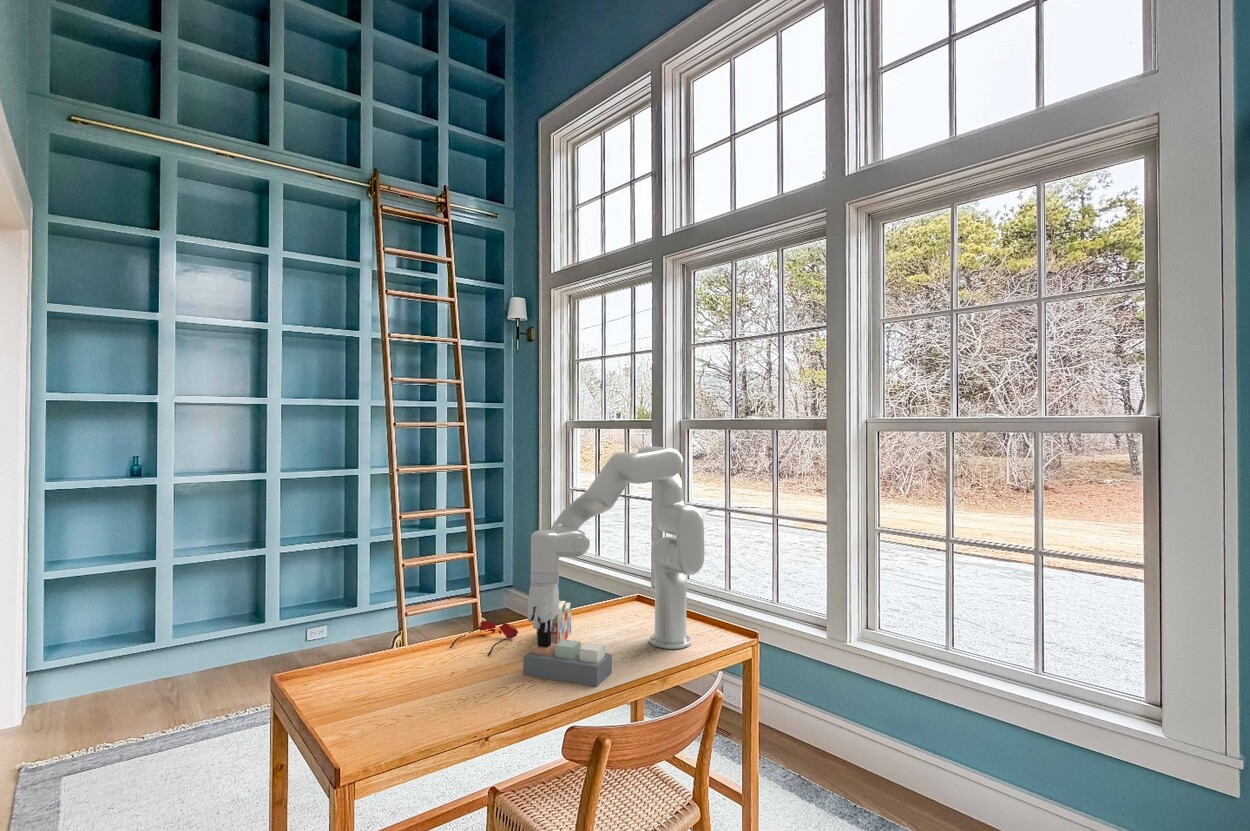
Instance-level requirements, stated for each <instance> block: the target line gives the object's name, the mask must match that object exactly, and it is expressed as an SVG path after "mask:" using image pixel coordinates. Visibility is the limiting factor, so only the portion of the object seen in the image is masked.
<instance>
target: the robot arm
mask: <svg viewBox="0 0 1250 831" xmlns="http://www.w3.org/2000/svg"><path fill="white" fill-rule="evenodd" d="M683 464H684V460H683V456H682V454H681V453H680V452H679V451H678V450H677V449H675V448H673V447H665V446H664V447H661V446H644V447H641V448H640V449H638V450H637V451H636V453H634V452H617V453H614V454H612V456H611V457H610V458H609V459H608V460H607V462H606V463H605V465H604V466H603V467H602V469H601V470H600V471H599V473H598V475H596V478H595V479H594V480H593V481H592V483H591V484H590V486H589V487H588V489H587V490H586V491H585V492H584V493H583V494H581V495H580V496H578V497H577V498H576V499H575V500H573V501H572V502H571V503H569V505H567V506H566V507H565V508H564V509H563V510H562V511H561V512H560V514H559V516H558V517H557V518H556V520H555V521H554V523H553V524H552V526H551V527H550V529H541V530H536V531H534V532H533V533H532V534H531V537H530V539H531V541H530V587H529V592H528V600H527V621H528V622H529V623H531V622H532V629H536V633H537V632H538V646H541V647H549V646H550V645H551V631H550V630H551V629H552V622H553V620H554V619H555V616H556V615H557V614H558V612H559V601H560V590H559V583H560V558H578V557H582V556H583V555H585V554H586V553H587V552H588V550H589V549H590V542H591V541H590V537H588V534H587V533H585V532H584V531H583V530H580V527H582V525H584V523H586V522H587V521H588V520H590V519H591V518H594V517H596V516H598V515H601V514H604V513H605V512H607V511H609V510H611V509H612V508H613V507H614V505H615V503H617V501H618V499H619V498H620V496H621V494H623V492H624V491H625V489H626V488H627V486H628V484H629V483H630V484H633V485H634V484H636V485H638V484H639V485H641V484H646V483H647V484H648V483H652V485H653V488H654V502H655V505H654V506H655V522H656V526H657V529H658V530H659V531H661V532H663V533H666V534H670V535H672V536H676V537H672V536H665V537H661V538H659V539H658V540H657V541H656V542H655V543H654V545H653V547H652V551H651V552H652V553H651V558H652V564H653V569H654V581H655V583H654V584H655V586H654V634H651V635H650V636H649V643H650V644H651V645H652V646H654V647H657V648H661V649H665V650H666V649H667V650H678V649H684V648H687V647H689V646H690V645H691V644H692V637H691V636H689V635H687V592H688V590H687V586H688V585H687V577H686V576H693V575H696V574H698V573H699V572H700V571H701V569H702V568H703V566H704V561H705V525H704V524H705V523H704V519H703V516H702V513H701V512H700V511H699V509H698V508H697V507H695V506H694V505H691V504H686V503H685V500H684V492H683V491H684V490H683V489H684V488H683V483H682V479H681V477H680V475H679V473H680V472H681V470H682V468H683ZM540 619H541V620H540Z"/></svg>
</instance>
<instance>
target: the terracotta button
mask: <svg viewBox="0 0 1250 831" xmlns="http://www.w3.org/2000/svg"><path fill="white" fill-rule="evenodd" d="M555 645H556V644H552V643H551V645H550V646H549V647H541V646H538V644H537V643H536V644H535V645H533V646H532V647H531V650H532V654H537V655H543V656H550V655H552V654H553V653H554V652H555Z"/></svg>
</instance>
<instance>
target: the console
mask: <svg viewBox="0 0 1250 831" xmlns="http://www.w3.org/2000/svg"><path fill="white" fill-rule="evenodd" d="M522 661H523V663H522V664H523V668H522V669H523V670H522V672H523V674H522V675H524V676H528V677H529V676H530V677H536V678H540V679H548V680H553V681H560V682H566V683H572V684H577V685H583V686H591V687H597V688H598V687H599V686H600V685H601V683H603V681H605V680H607V678H608V677H609V676H610V675H611V674H613V653H608V652H605V658H604V659H603V660H602V661H601V662H599V663H591V662H584V661H580V655H579V656H578V657H576V658H575V659H574V660H571V659H564V658H557V657H555V652H554V653H553V654H552V655H550V656H543V655H537V654H532V649H531V650H530V651H528V652H527V653H526V654H524V655H523V660H522Z"/></svg>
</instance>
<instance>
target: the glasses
mask: <svg viewBox="0 0 1250 831" xmlns="http://www.w3.org/2000/svg"><path fill="white" fill-rule="evenodd" d="M497 624H501V625H500V626H499V627H498V628H499V629H500V630H498V633H499V635H502V634H503V635H504V636H505V638H503V639H501V640H500V641H497V642H496V643H494V644H493V645H492V647H491V649H489V652H488V654H487V657H490V656H491V654H492V652H493V650H494V648H495V646H497V645H498V644H500V643H502V642H504V641H505V640H507V639H508V638H512V639H514V638H515V637H517V635H518V634H519V631H518V630H517V629H516V627H515V626H514V625H513V624H509V623H506V622H503V623H502V622H496V621H489V620H488V621H487V620H481V622H480V623H479V627H476V628H475V629H473V630H471V631H469V632H468V633H470V634H472V633H473V632H475V631H478V630H479V631H481V630H486V629H491V630H488V631H493V632H491V633H490V634H492V633H493V634H494V633H495V632H496V625H497ZM492 628H495V629H492ZM471 632H472V633H471ZM486 632H487V631H486ZM463 635H464V636H463ZM463 635H461V636H459V637H456V639H454V640H453V642H452V643H451V645H450V646H449V648H451V649H452V648H453V647H454V645H455V644H456V642H457V641H458V640H459V639H461V638H463V637H465V636H467V635H465V634H463ZM489 655H490V656H489Z"/></svg>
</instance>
